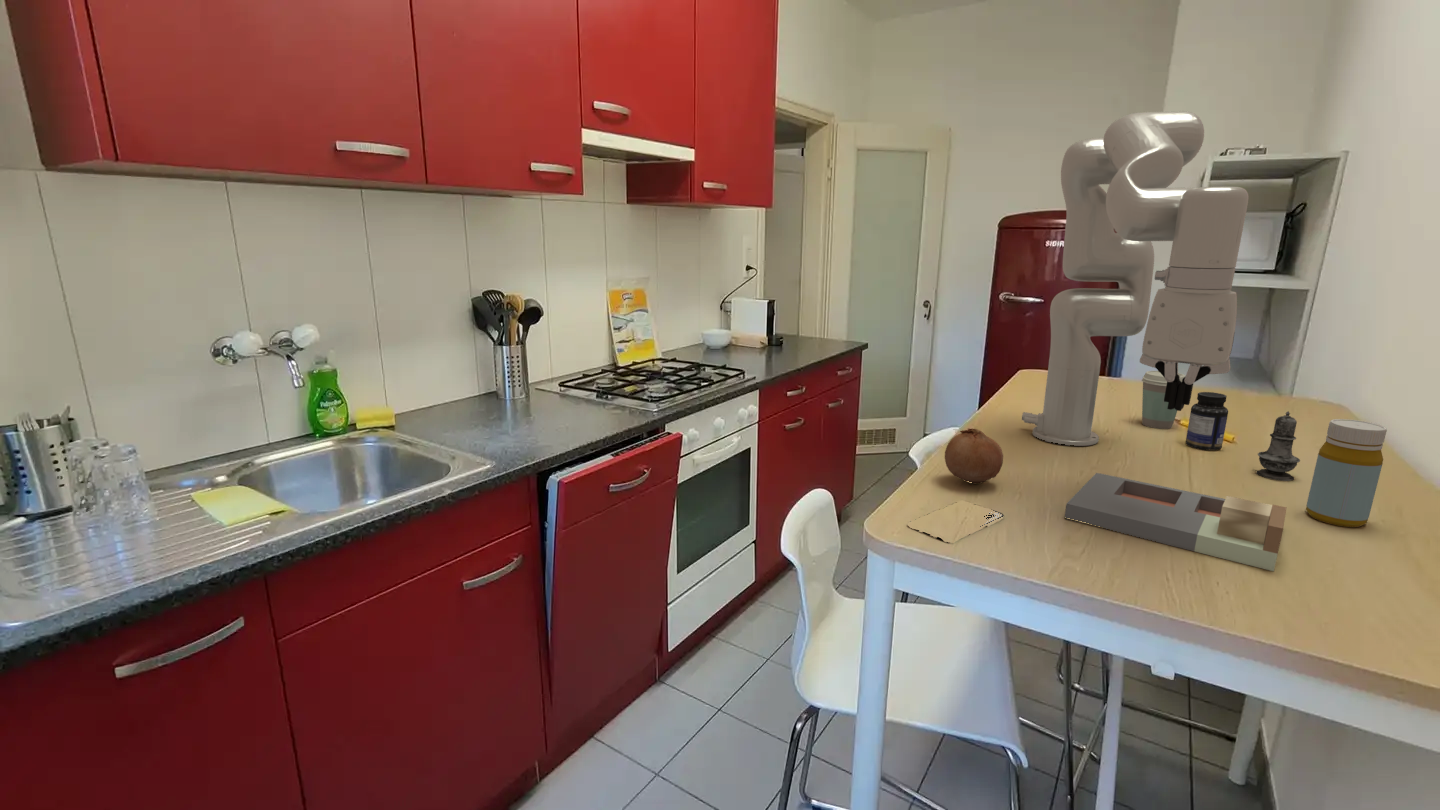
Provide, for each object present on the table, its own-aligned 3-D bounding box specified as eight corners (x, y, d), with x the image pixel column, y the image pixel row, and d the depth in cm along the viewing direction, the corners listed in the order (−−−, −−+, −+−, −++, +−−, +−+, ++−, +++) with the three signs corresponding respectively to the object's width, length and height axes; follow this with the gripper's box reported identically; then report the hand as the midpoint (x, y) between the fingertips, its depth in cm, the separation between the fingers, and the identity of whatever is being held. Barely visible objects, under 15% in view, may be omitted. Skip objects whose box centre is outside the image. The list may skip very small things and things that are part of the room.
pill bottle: (1208, 442, 139) (1217, 390, 136) (1228, 451, 133) (1239, 398, 130) (1178, 442, 139) (1187, 390, 136) (1197, 451, 133) (1207, 397, 130)
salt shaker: (1303, 482, 116) (1318, 416, 113) (1265, 480, 117) (1279, 414, 114) (1283, 471, 122) (1296, 407, 119) (1247, 469, 123) (1259, 406, 120)
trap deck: (1064, 518, 102) (1069, 482, 100) (1094, 486, 115) (1099, 453, 113) (1273, 571, 86) (1283, 528, 84) (1281, 526, 99) (1289, 488, 97)
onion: (933, 484, 116) (937, 429, 114) (956, 470, 123) (960, 418, 120) (987, 498, 110) (993, 440, 107) (1008, 482, 117) (1014, 428, 114)
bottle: (1372, 532, 96) (1398, 434, 93) (1309, 522, 100) (1331, 426, 96) (1359, 515, 102) (1383, 422, 98) (1301, 506, 106) (1321, 416, 102)
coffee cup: (1188, 430, 147) (1197, 377, 144) (1149, 430, 147) (1158, 377, 144) (1163, 420, 155) (1172, 370, 152) (1127, 420, 155) (1134, 370, 152)
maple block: (1216, 533, 91) (1222, 506, 90) (1221, 522, 94) (1226, 495, 93) (1263, 544, 87) (1269, 516, 86) (1266, 532, 91) (1272, 505, 90)
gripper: (1130, 279, 94) (1111, 404, 99) (1265, 285, 84) (1236, 423, 89) (1142, 276, 99) (1123, 395, 104) (1269, 281, 89) (1242, 412, 94)
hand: (1175, 407), depth 96 cm, fingers closed
